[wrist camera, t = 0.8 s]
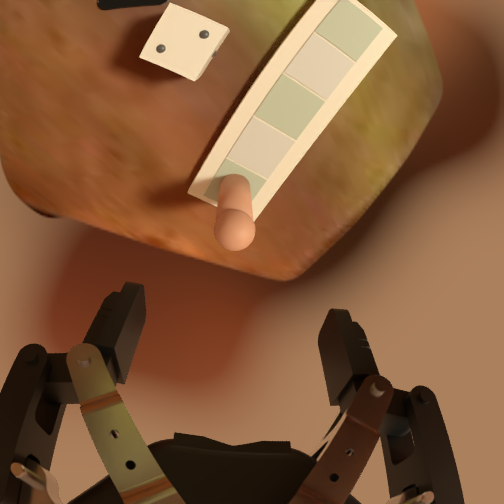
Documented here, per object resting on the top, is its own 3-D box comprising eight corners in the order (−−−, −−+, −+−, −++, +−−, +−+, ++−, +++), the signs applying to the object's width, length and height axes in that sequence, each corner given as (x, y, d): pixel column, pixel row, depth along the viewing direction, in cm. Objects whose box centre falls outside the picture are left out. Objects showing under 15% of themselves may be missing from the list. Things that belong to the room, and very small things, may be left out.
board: (188, 189, 31) (187, 193, 30) (329, -17, 17) (332, -18, 17) (251, 219, 34) (252, 224, 33) (393, 35, 20) (397, 35, 19)
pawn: (212, 193, 30) (205, 249, 24) (228, 167, 29) (226, 217, 22) (240, 206, 32) (242, 264, 25) (257, 182, 30) (265, 236, 23)
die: (154, 56, 22) (136, 59, 18) (181, 9, 19) (169, 2, 15) (202, 77, 23) (195, 85, 20) (231, 32, 21) (230, 29, 17)
